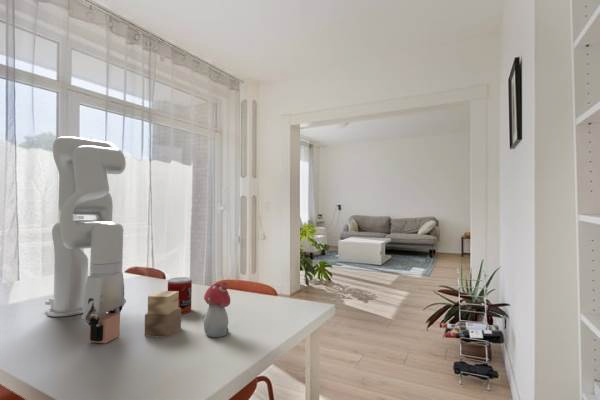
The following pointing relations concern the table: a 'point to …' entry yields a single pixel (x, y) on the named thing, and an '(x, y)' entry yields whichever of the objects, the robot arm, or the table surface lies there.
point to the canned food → (182, 292)
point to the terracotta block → (109, 327)
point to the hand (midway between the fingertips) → (104, 335)
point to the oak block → (163, 302)
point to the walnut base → (162, 324)
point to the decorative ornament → (216, 310)
